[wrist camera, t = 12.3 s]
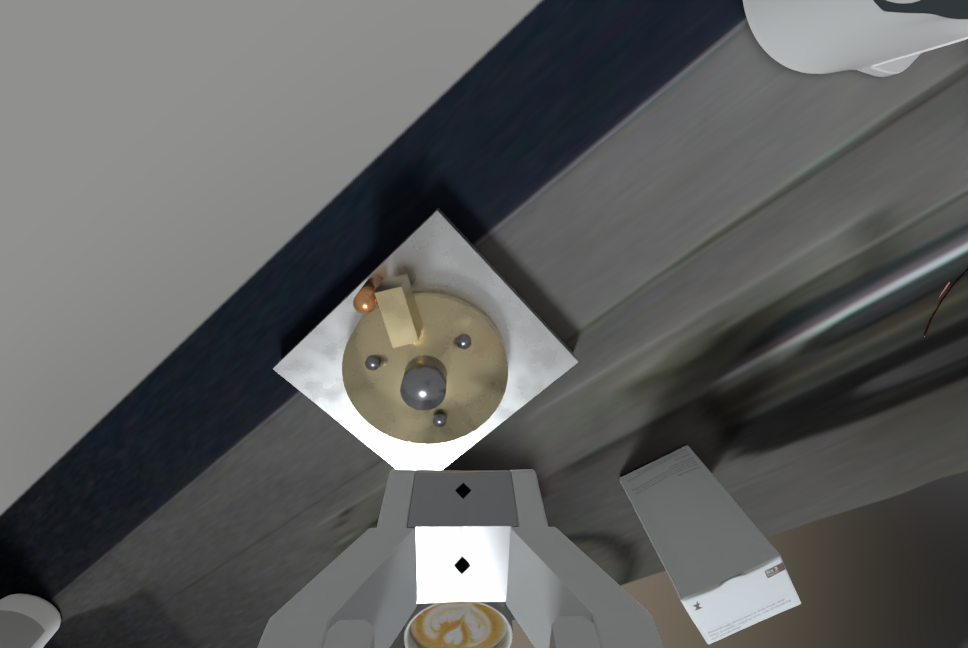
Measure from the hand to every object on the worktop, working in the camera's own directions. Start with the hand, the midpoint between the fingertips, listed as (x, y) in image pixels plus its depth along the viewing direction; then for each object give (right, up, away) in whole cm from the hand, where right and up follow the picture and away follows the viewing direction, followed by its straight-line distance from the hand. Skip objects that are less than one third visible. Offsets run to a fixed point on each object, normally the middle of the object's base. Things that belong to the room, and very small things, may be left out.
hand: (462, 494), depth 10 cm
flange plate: (-5, +1, +30) cm, 31 cm away
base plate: (-5, +1, +33) cm, 33 cm away
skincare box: (+19, -13, +39) cm, 46 cm away
